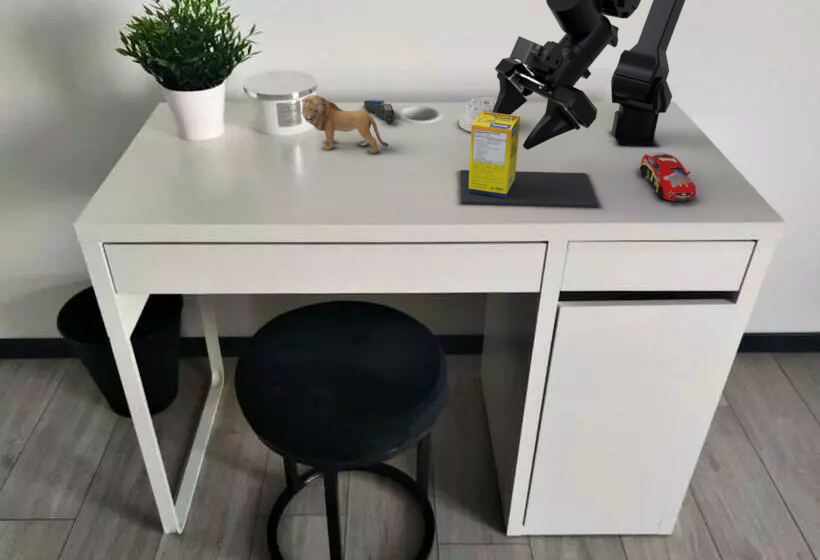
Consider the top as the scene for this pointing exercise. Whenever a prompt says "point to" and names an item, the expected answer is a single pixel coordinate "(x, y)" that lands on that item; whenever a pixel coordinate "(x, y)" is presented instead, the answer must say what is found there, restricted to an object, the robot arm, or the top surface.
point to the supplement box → (493, 154)
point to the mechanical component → (476, 111)
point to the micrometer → (380, 109)
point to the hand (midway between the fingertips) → (506, 136)
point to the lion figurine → (339, 121)
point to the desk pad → (537, 190)
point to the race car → (667, 177)
